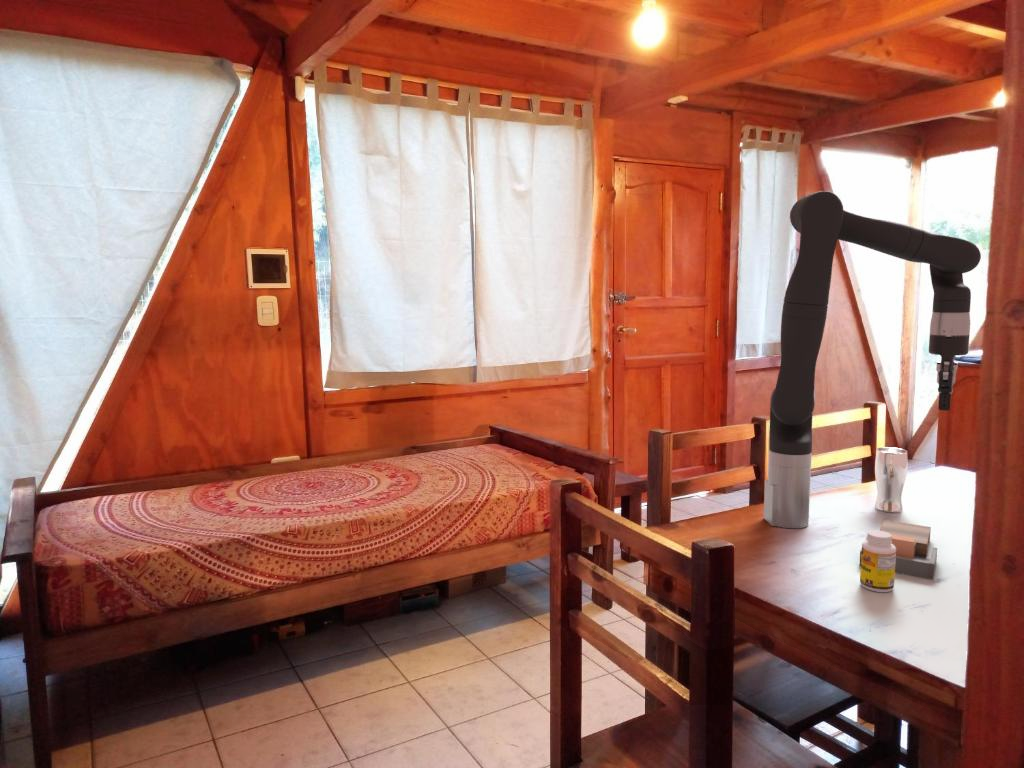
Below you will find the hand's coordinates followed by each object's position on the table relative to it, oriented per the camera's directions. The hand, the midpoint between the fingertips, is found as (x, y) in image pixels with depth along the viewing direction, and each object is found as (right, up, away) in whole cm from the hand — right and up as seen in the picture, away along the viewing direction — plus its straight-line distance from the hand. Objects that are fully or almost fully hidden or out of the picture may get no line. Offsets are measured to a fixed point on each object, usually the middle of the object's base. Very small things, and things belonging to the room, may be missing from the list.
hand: (944, 409), depth 157 cm
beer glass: (-4, -25, +16) cm, 30 cm away
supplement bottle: (-30, -32, -29) cm, 52 cm away
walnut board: (-14, -29, -8) cm, 33 cm away
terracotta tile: (-20, -27, -18) cm, 38 cm away
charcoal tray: (-20, -30, -18) cm, 40 cm away
